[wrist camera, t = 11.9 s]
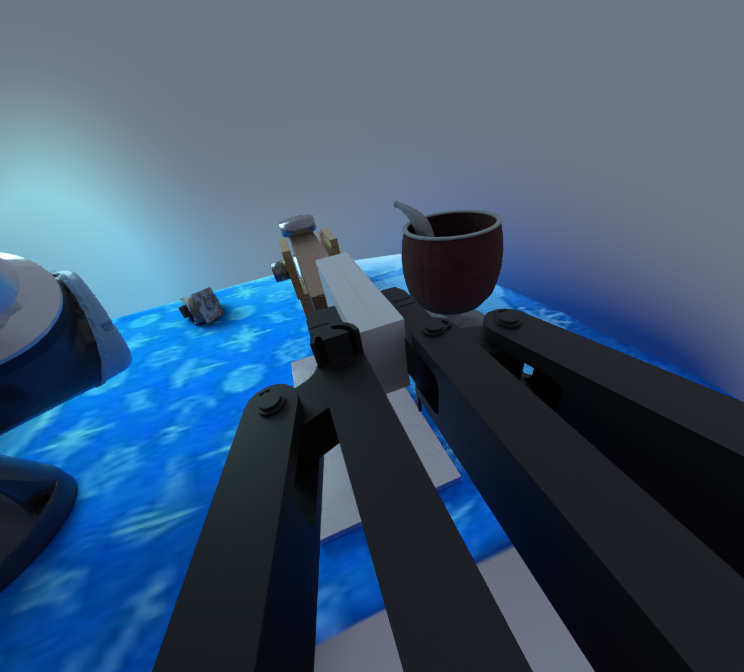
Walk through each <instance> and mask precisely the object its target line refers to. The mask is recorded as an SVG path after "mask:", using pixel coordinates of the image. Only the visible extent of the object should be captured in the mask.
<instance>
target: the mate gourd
mask: <svg viewBox="0 0 744 672" xmlns="http://www.w3.org/2000/svg"><path fill="white" fill-rule="evenodd" d="M394 207H397V208H399V209H400V210H401V211H403V212H404V214H405V215H406V216H407V217H408V218H409V220H410V222H408V223H407V224H406V225H405V226H404V227H403V232H404V234H403V240H402V266H403V274H404V278H405V282H406V285H407V288H408V290H409V293H410V296H411V297H412V298H413V299H414V300H415V301H416V302H417V303H418V304H419V305H420V306H421V307H422V308H424V309H425V310H426V311H427V312H428V313H429V314H430V315H431V316H432V317H441V318H445V319H448V320H450V321H452V322H453V323H455V324H456V325H457V326H458V327H473V326H482V325H483V320H484V315H483V314H482V313H480V312H479V311H477V310H475V309H476V308H477V307H479V306H480V305H481V304H482V303H483V302H484V301H485V300H486V299H487V298H488V297H489V296H490V295H491V294H492V292H493V290H494V288H495V285H496V283H497V280H498V277H499V273H500V270H501V265H502V257H503V232H502V225H501V223H502V217H501V216H500V215H498V214H496V213H493V212H489V211H482V210H456V211H446V212H440V213H434V214H430V215H426V216H424V215H423V214H422V213H420V212H419V211H418V210H416V209H414V208H412V207H410V206H408V205H406V204H403V203H400V202H397V201H395V202H394Z"/></svg>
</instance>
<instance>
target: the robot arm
mask: <svg viewBox="0 0 744 672" xmlns="http://www.w3.org/2000/svg"><path fill="white" fill-rule="evenodd" d="M315 261H316V265H317V268H318V272H319V276H320V279H321V283H322V287H323V290H324V294H325V298H326V301H327V305H328V307H327V308H324V309H321V310H317V311H314V312H310V313H309V315H308V318H307V320H306V322H307V326H308V329H309V333H310V337H311V338H310V346H311V349H312V351H313V354H314V357H315V360H316V363H317V367H316V370H315V372H314V373H313V375H312V376H311V377H310V378H309V379H308V380H306V381H305V382H303V383H302V384H300V385H299V386H297V387H296V388H293V387H292V386H289V385H287V384H276V385H272V386H269V387H266V388H264V389H263V390H261V391H259V392H257V393H256V394H255V395H254V396H253V397H252V398H251V399H250V400H249V402H248V403H247V405H246V407H245V409H244V411H243V414H242V417H241V420H240V423H239V426H238V428H237V431H236V434H235V437H234V440H233V443H232V446H231V448H230V451H229V454H228V457H227V460H226V463H225V465H224V468H223V471H222V474H221V477H220V480H219V483H218V485H217V488H216V491H215V494H214V497H213V500H212V503H211V505H210V508H209V511H208V514H207V517H206V520H205V522H204V525H203V528H202V531H201V534H200V537H199V540H198V542H197V545H196V548H195V551H194V554H193V557H192V559H191V562H190V565H189V568H188V571H187V574H186V577H185V579H184V582H183V585H182V588H181V591H180V594H179V597H178V599H177V602H176V605H175V608H174V611H173V614H172V616H171V619H170V622H169V625H168V628H167V631H166V634H165V636H164V639H163V642H162V645H161V648H160V651H159V653H158V656H157V659H156V662H155V665H154V668H153V671H152V672H314V656H315V636H316V616H317V595H318V575H319V554H320V534H321V513H322V493H323V473H324V455H325V454H326V453H327V452H329V451H330V450H331V449H333V448H334V447H335V446H336V445H338V444H339V443H340V447H341V451H342V454H343V458H344V461H345V465H346V468H347V472H348V476H349V479H350V483H351V486H352V490H353V493H354V497H355V500H356V504H357V508H358V511H359V515H360V518H361V522H362V525H363V529H364V532H365V536H366V540H367V543H368V547H369V550H370V554H371V557H372V561H373V564H374V568H375V572H376V575H377V579H378V582H379V586H380V589H381V593H382V596H383V600H384V604H385V607H386V611H387V614H388V618H389V621H390V625H391V628H392V632H393V635H394V639H395V643H396V646H397V650H398V653H399V657H400V661H401V664H402V668H403V671H404V672H533V671H532V669H531V667H530V666H529V664H528V662H527V660H526V658H525V656H524V654H523V652H522V651H521V649H520V647H519V645H518V643H517V641H516V639H515V637H514V636H513V633H512V632H511V630H510V628H509V626H508V624H507V622H506V620H505V618H504V616H503V615H502V613H501V611H500V609H499V607H498V605H497V603H496V601H495V599H494V598H493V596H492V594H491V592H490V590H489V588H488V586H487V585H486V582H485V581H484V579H483V577H482V575H481V573H480V571H479V569H478V567H477V565H476V564H475V562H474V560H473V558H472V556H471V554H470V552H469V550H468V548H467V547H466V545H465V543H464V541H463V539H462V537H461V535H460V533H459V531H458V530H457V528H456V526H455V524H454V522H453V520H452V518H451V516H450V514H449V513H448V511H447V509H446V507H445V505H444V503H443V501H442V499H441V497H440V496H439V494H438V492H437V490H436V488H435V486H434V484H433V482H432V480H431V479H430V477H429V475H428V473H427V471H426V469H425V467H424V465H423V463H422V461H421V460H420V458H419V456H418V454H417V452H416V450H415V448H414V446H413V444H412V443H411V441H410V439H409V437H408V435H407V433H406V431H405V429H404V427H403V426H402V424H401V422H400V420H399V418H398V416H397V414H396V412H395V410H394V409H393V407H392V405H391V403H390V401H389V399H388V397H387V395H386V394H388V393H391V392H393V391H396V390H399V389H402V388H404V387H407V386H410V379H409V374H410V376H411V377H412V379H413V380H414V382H415V387H416V401H417V408H418V411H419V412H420V411H422V406H421V403H422V404H423V406H424V407H425V409H426V410H427V412H428V413H429V415H430V416H431V418H432V420H433V421H434V423H435V424H436V426H437V427H438V429H439V430H440V432H441V434H442V435H443V437H444V438H445V440H446V441H447V443H448V444H449V446H450V447H451V449H452V451H453V452H454V454H455V455H456V457H457V458H458V460H459V461H460V463H461V465H462V466H463V468H464V469H465V471H466V472H467V474H468V475H469V477H470V479H471V480H472V482H473V483H474V485H475V486H476V488H477V489H478V491H479V492H480V494H481V496H482V497H483V499H484V500H485V502H486V503H487V505H488V506H489V508H490V510H491V511H492V513H493V514H494V516H495V517H496V519H497V520H498V522H499V524H500V525H501V527H502V528H503V530H504V531H505V533H506V534H507V536H508V537H509V539H510V541H511V542H512V544H513V545H514V547H515V548H516V550H517V551H518V553H519V555H520V556H521V558H522V559H523V561H524V562H525V564H526V565H527V567H528V568H529V570H530V572H531V573H532V575H533V576H534V578H535V579H536V581H537V582H538V584H539V586H540V587H541V589H542V590H543V592H544V593H545V595H546V596H547V598H548V600H549V601H550V603H551V604H552V606H553V607H554V609H555V610H556V612H557V613H558V615H559V616H560V618H561V619H562V621H563V623H564V624H565V626H566V627H567V629H568V630H569V632H570V634H571V635H572V637H573V638H574V640H575V641H576V643H577V644H578V646H579V648H580V649H581V651H582V652H583V654H584V655H585V657H586V658H587V660H588V662H589V663H590V665H591V666H592V668H593V669H594V671H595V672H744V402H742V401H739V400H737V399H734V398H732V397H730V396H727V395H725V394H722V393H720V392H717V391H715V390H712V389H710V388H707V387H705V386H703V385H700V384H698V383H695V382H693V381H690V380H688V379H685V378H683V377H680V376H678V375H676V374H673V373H671V372H668V371H666V370H663V369H661V368H658V367H656V366H653V365H651V364H649V363H646V362H644V361H641V360H639V359H636V358H634V357H631V356H629V355H626V354H624V353H622V352H619V351H617V350H614V349H612V348H609V347H607V346H604V345H602V344H599V343H597V342H595V341H592V340H590V339H587V338H585V337H582V336H580V335H577V334H575V333H572V332H570V331H568V330H565V329H563V328H560V327H558V326H555V325H553V324H550V323H548V322H545V321H543V320H541V319H538V318H536V317H533V316H531V315H528V314H526V313H523V312H520V311H517V310H512V309H498V310H494V311H491V312H488V313H487V314H486V315H485V316H484V320H483V325H482V326H473V327H458V326H457V325H456V324H455V323H453V322H452V321H450V320H448V319H445V318H441V317H432V316H431V315H430V314H429V313H428V312H427V311H426V310H425V309H423V308H422V307H421V306H420V305H419V304H418V303H416V301H415V300H414V299H413V298H411V296H410V295H409V294H408V293H407V292H406V291H404V290H402V289H399V288H396V287H393V288H389V289H386V290H382V291H380V290H379V289H378V288H377V287H376V286H375V285H374V283H373V282H372V281H371V280H370V279H369V278H368V277H367V275H366V274H365V273H364V272H363V271H362V270H361V269H360V267H359V266H358V265H357V264H356V263H355V262H354V260H353V259H352V258H351V257H350V256H349V255H348V254H347V253H346V252H345V253H342V254H338V255H334V256H330V257H326V258H322V259H318V260H315ZM131 361H132V355H131V352H130V350H129V348H128V346H127V344H126V342H125V341H124V339H123V337H122V336H121V334H120V332H119V331H118V329H117V328H116V327H115V325H113V324H112V321H111V319H110V318H109V316H108V314H107V312H106V311H105V309H104V308H103V307H102V306H101V304H100V302H99V301H98V299H97V298H96V297H95V295H94V294H93V293H92V291H91V290H90V289H89V287H88V286H87V285H86V284H85V283H84V281H83V280H82V279H81V278H80V277H79V276H78V275H77V274H76V273H74V272H72V271H67V270H64V271H51V272H48V271H46V270H45V269H44V268H42V267H41V266H39V265H38V264H36V263H35V262H32V261H30V260H28V259H25V258H22V257H19V256H15V255H11V254H7V253H1V252H0V435H2V434H4V433H6V432H8V431H10V430H12V429H14V428H16V427H18V426H20V425H22V424H23V423H25V422H27V421H29V420H31V419H33V418H35V417H37V416H39V415H41V414H43V413H45V412H47V411H49V410H51V409H53V408H55V407H57V406H58V405H60V404H62V403H64V402H66V401H68V400H70V399H72V398H74V397H76V396H78V395H80V394H82V393H84V392H86V391H88V390H90V389H92V388H94V387H99V386H101V385H103V384H104V383H105V382H106V381H107V380H109V379H110V378H112V377H114V376H116V375H117V374H119V373H121V372H123V371H124V370H126V369H127V368H128V367H129V365H130V364H131ZM524 363H526V364H527V365H529V366H531V367H533V368H534V370H533V374H532V375H528V374H526V373H524V372H523V367H524ZM76 489H77V488H76V482H75V480H74V478H73V477H72V476H70V475H69V474H67V473H66V472H64V471H63V470H61V469H59V468H58V467H56V466H53V465H50V464H45V463H40V462H35V461H30V460H25V459H20V458H15V457H10V456H5V455H0V590H1V589H3V588H4V587H5V586H6V585H7V584H8V583H10V582H11V581H12V580H13V579H14V578H15V577H16V576H17V575H18V574H19V573H20V572H21V571H22V570H23V569H24V568H25V567H26V566H27V565H28V564H29V563H30V562H31V561H32V560H33V559H34V558H35V557H36V556H37V555H38V554H39V553H40V552H41V550H42V549H43V548H44V547H45V546H46V545H47V543H48V542H49V541H50V540H51V539H52V537H53V536H54V535H55V533H56V532H57V531H58V529H59V528H60V526H61V525H62V523H63V522H64V520H65V518H66V517H67V515H68V513H69V511H70V509H71V507H72V505H73V502H74V499H75V496H76Z"/></svg>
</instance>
